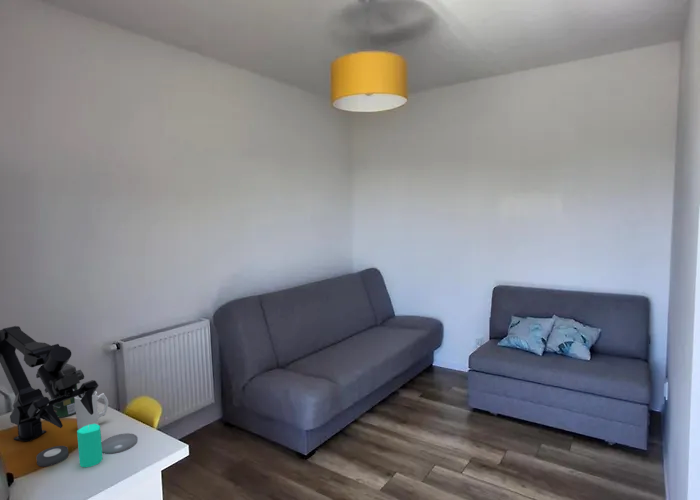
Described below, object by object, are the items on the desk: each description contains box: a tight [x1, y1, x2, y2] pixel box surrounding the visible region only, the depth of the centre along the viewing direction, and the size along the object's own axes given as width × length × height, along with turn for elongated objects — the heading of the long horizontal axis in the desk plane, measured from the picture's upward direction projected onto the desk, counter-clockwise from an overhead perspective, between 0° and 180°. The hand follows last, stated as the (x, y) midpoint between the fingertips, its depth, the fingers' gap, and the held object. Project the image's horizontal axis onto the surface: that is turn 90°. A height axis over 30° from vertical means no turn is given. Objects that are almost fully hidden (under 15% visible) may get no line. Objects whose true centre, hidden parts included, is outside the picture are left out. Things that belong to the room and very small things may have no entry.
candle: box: [76, 424, 104, 468], centre depth 130 cm, size 6×6×12 cm
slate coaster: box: [101, 432, 138, 455], centre depth 140 cm, size 11×11×1 cm
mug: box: [74, 390, 109, 431], centre depth 152 cm, size 10×7×12 cm, turn 128°
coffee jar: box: [50, 363, 78, 418], centre depth 163 cm, size 10×8×19 cm
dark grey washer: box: [35, 445, 69, 468], centre depth 132 cm, size 8×8×2 cm
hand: (77, 420), depth 132 cm, fingers open, 9 cm apart
